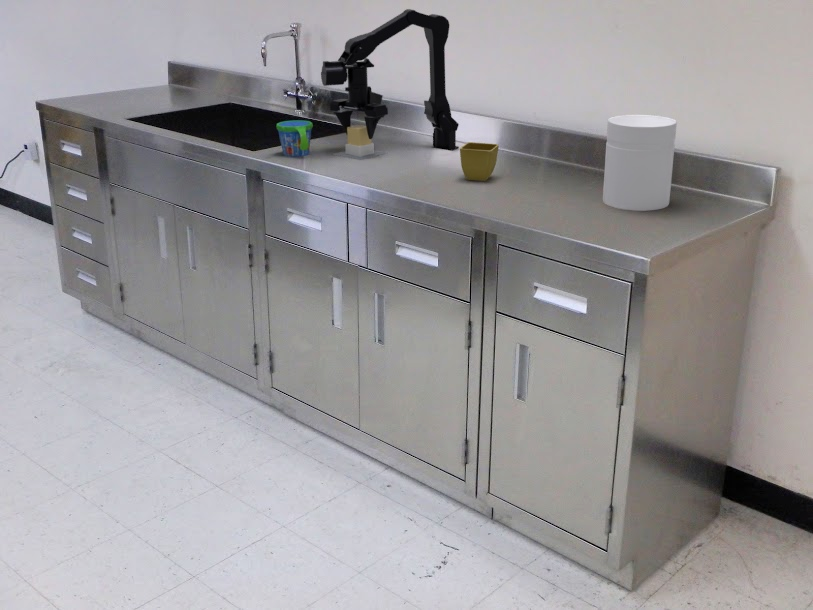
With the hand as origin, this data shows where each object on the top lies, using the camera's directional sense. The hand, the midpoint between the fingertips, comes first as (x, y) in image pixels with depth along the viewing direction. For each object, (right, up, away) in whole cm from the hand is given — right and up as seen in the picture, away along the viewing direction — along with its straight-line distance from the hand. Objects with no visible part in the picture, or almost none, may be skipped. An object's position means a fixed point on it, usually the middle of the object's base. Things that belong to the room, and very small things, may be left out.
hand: (359, 136), depth 281 cm
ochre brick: (0, -2, +1) cm, 2 cm away
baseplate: (0, -6, +2) cm, 6 cm away
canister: (+70, -25, -47) cm, 88 cm away
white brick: (0, -5, +2) cm, 5 cm away
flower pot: (+34, -16, -24) cm, 44 cm away
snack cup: (-19, -6, +3) cm, 20 cm away
